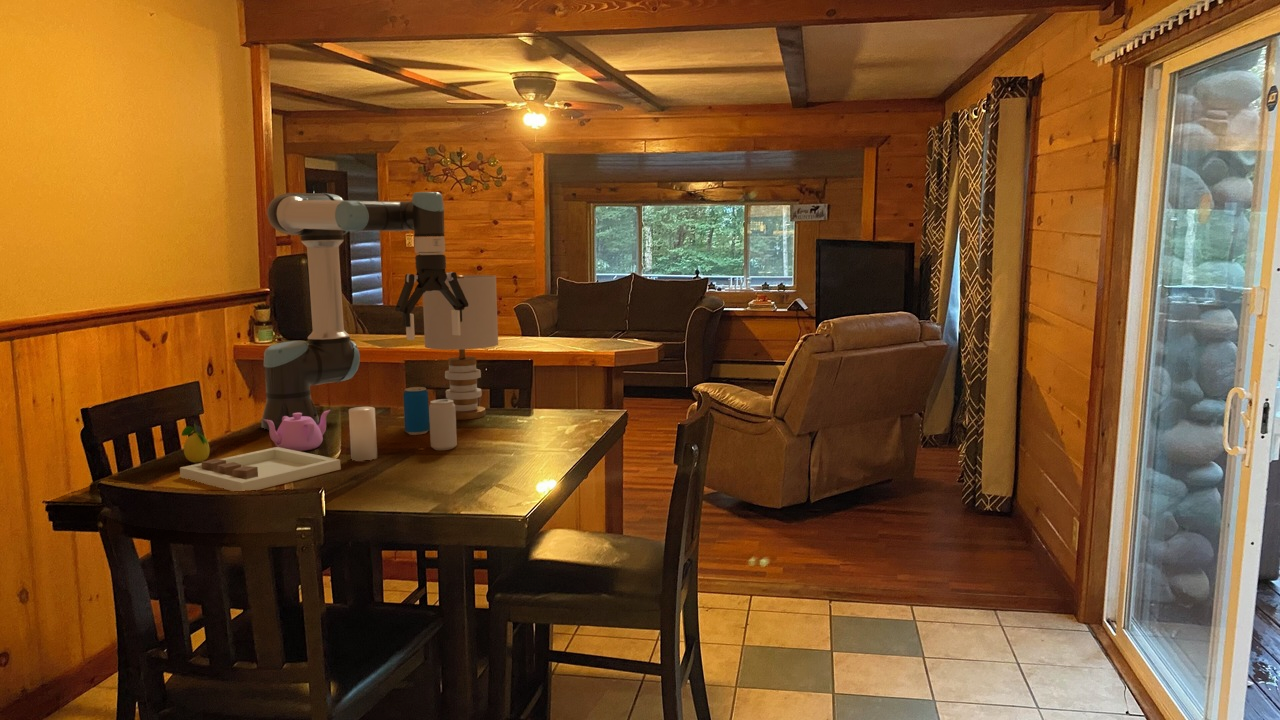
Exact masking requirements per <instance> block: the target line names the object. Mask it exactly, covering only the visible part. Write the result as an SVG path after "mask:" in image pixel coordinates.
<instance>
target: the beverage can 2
mask: <svg viewBox="0 0 1280 720" xmlns="http://www.w3.org/2000/svg"><path fill="white" fill-rule="evenodd" d="M429 424H430V430H429V435H430V440H429V441H430V447H431V448H432V449H433V450H436V451H449V450H452V449H454V448H455V447H456V446H457V445H458V443H457V442H458V438H457V420H456V412H455V404H454V403H453V400H451V399H448V398H441V399H433V400H430V404H429Z"/></svg>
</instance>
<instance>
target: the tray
mask: <svg viewBox="0 0 1280 720" xmlns="http://www.w3.org/2000/svg"><path fill="white" fill-rule="evenodd" d="M220 459H221V460H226V463H231V462H235V463H238V464H241V467H242V466H251V467H258V477H254V478H250V479H246V480H245V479H241V478H237V477H233V476H229V475H225V474H220V473H216V472H212V471H208V470H204V469H202V463H201V462H200V463H193V464H191V465H186V466H181V467H179V472H180V473H179V476H180V478H181V479H184V478H186V479H185V480H188V479H191V480H190V481H192V480H195V481H194V482H196V481H197V482H196V483H199V482H201V483H200V484H203V483H204V485H208V486H211V485H212V486H211V487H215V486H216V488H219V489H223V488H224V489H223V490H227V491H231V492H234V491H245V490H256V491H260V490H264V489H267V488H272V487H276V486H279V485H284V484H288V483H291V482H296V481H300V480H304V479H307V478H313V477H316V476H321V475H324V474H328V473H331V472H336V471H339V470H340V471H341V469H342V467H341V459H339V458H333V457H329V456H324V455H318V454H313V453H309V452H305V451H295V450H290V449H285V448H280V447H277V446H275V447H270V448H266V449H260V450H256V451H251V452H247V453H242V454H241V453H240V454H237V455H234V456H227V457H223V458H220Z"/></svg>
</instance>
